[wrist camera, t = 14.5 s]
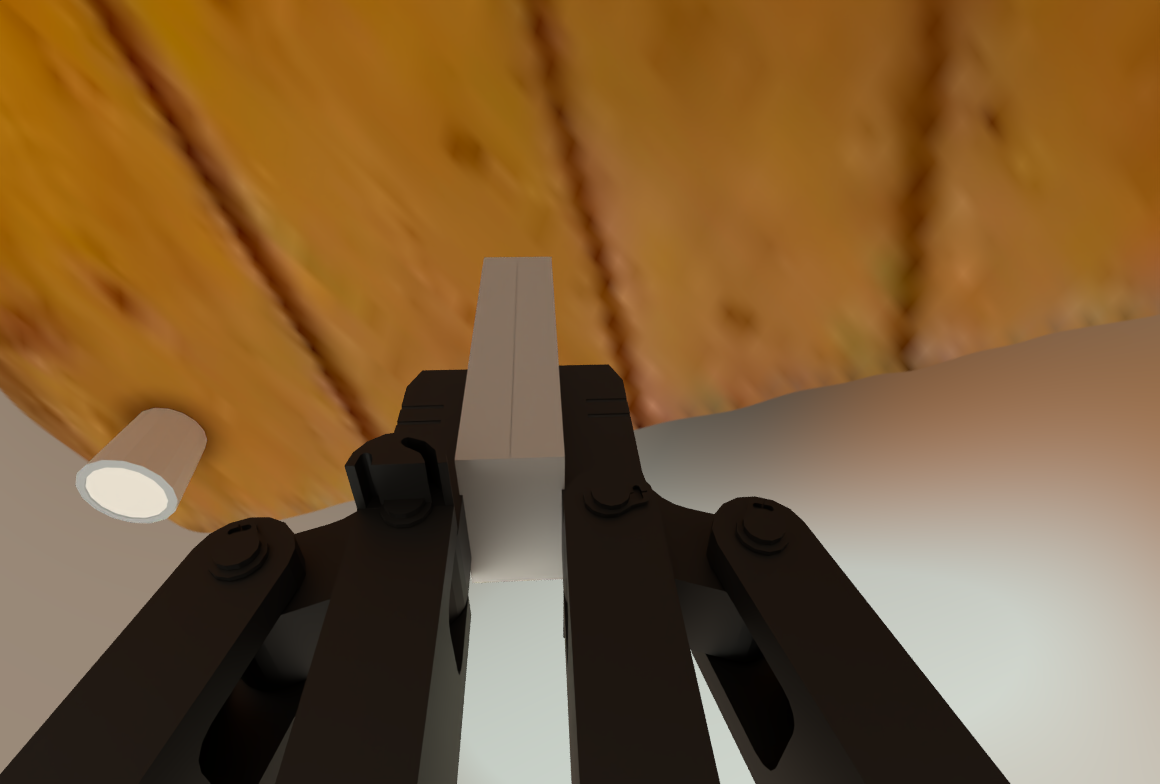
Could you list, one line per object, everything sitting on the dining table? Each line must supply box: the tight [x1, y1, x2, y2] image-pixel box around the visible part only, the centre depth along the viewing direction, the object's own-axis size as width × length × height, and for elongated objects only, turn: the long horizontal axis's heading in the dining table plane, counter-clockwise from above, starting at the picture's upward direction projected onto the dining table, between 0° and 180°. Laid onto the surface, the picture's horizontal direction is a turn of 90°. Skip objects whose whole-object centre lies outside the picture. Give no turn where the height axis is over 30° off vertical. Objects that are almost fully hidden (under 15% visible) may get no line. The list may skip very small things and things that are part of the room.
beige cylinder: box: [76, 408, 207, 523], centre depth 48 cm, size 7×7×7 cm
